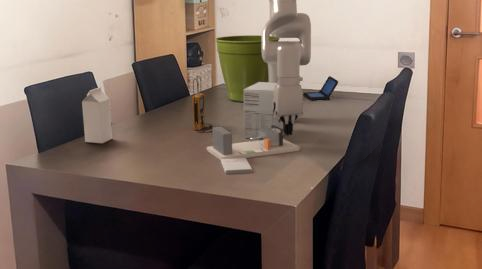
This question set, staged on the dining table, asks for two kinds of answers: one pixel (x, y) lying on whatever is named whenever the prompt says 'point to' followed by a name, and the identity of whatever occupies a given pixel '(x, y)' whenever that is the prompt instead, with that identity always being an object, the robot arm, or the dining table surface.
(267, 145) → the small orange block
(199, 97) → the multimeter
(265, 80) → the plant pot
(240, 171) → the external hard drive
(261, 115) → the supplement box
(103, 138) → the milk carton
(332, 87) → the handheld game console
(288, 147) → the base
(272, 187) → the dining table surface
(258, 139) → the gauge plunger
